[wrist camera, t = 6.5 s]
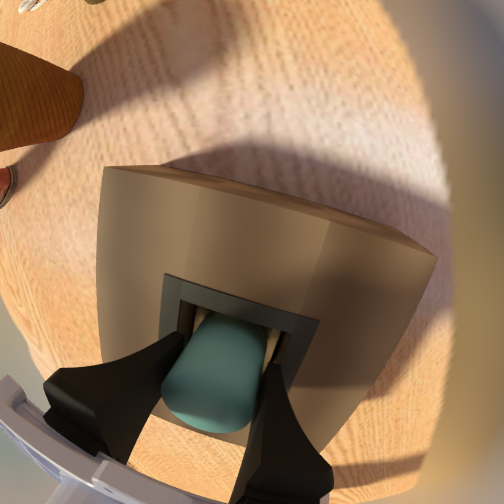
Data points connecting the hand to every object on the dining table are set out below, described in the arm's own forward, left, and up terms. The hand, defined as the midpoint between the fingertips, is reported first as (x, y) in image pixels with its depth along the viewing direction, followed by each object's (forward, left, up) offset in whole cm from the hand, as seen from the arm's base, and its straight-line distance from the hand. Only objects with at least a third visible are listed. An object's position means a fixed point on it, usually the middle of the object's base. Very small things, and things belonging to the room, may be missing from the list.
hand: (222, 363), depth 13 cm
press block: (0, 0, -6) cm, 6 cm away
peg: (0, 0, -2) cm, 2 cm away
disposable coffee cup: (+20, -12, -6) cm, 24 cm away
